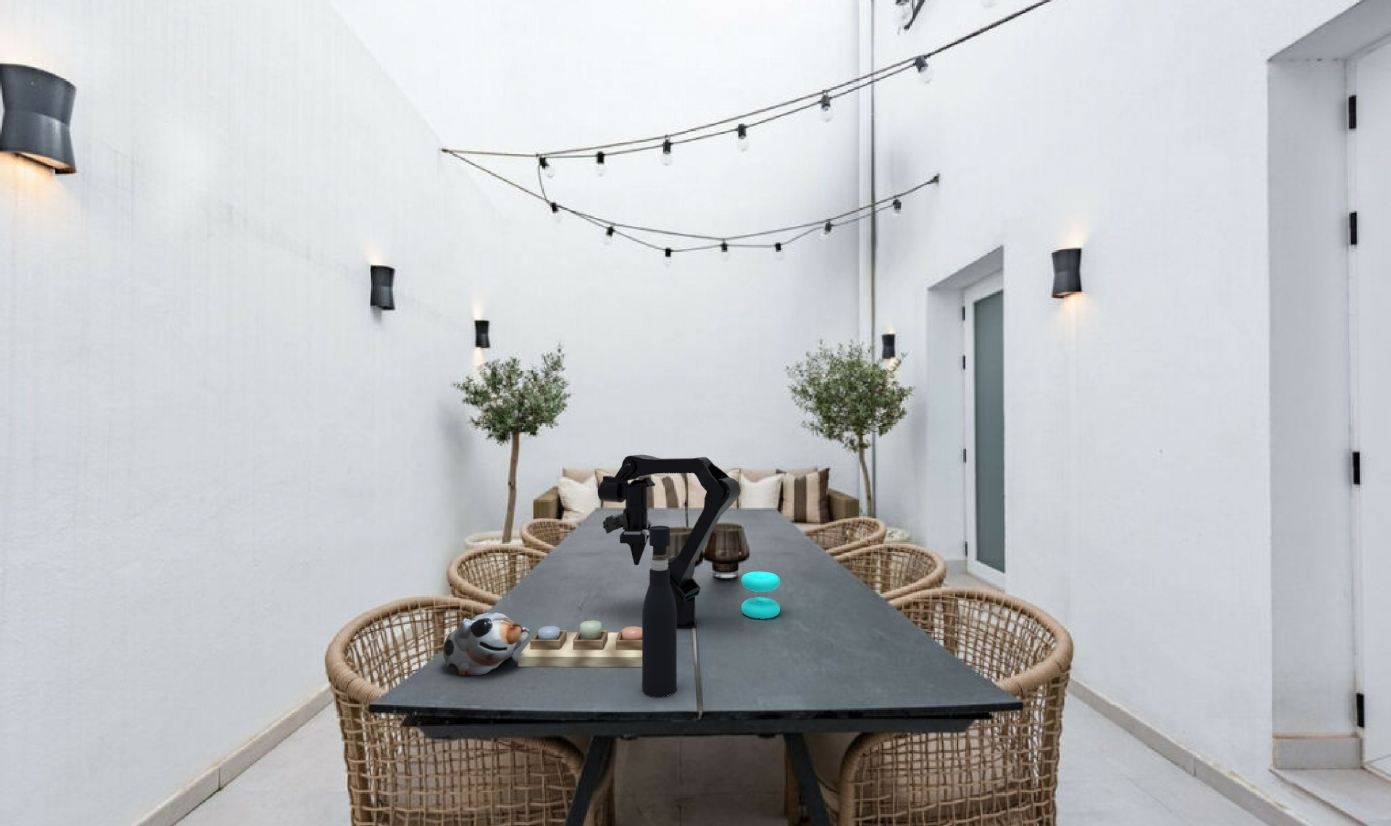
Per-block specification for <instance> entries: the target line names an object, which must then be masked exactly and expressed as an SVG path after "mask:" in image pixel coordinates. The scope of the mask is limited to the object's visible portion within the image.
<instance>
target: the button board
mask: <svg viewBox="0 0 1391 826" xmlns="http://www.w3.org/2000/svg"><path fill="white" fill-rule="evenodd" d="M622 630H623V629H621V630H620V631H618V632H608V631H609V630H605V629H603V630H602V629H601V636H600V637H599V638H596V639H583V638H581V637H580V629H579V630H578V631H575V632H571V631H570V632H568V630H567V629H565V630H564V629H560V637H559V639H558V640H538V630H537V631H536V632H535V633H534V635H532V637H531V639H530V641H529V642H528V643H527V645H526V646H525V647H523V649H522V651H521V652H520V653H519V655H518V656H517V667H539V668H540V667H541V668H542V667H545V668H546V667H548V668H549V667H553V668H555V667H558V668H560V667H561V668H562V667H563V668H565V667H566V668H567V667H568V668H569V667H571V668H572V667H573V668H576V667H577V668H579V667H580V668H582V667H583V668H584V667H585V668H642V640H622Z"/></svg>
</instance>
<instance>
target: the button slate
mask: <svg viewBox="0 0 1391 826" xmlns="http://www.w3.org/2000/svg"><path fill="white" fill-rule="evenodd" d="M560 630H561V629H560V627H559V626H556V625H545V626H543V627H540V628H539V629H538V630H537V631H538V640H558V639H559V637H560Z"/></svg>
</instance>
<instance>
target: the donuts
mask: <svg viewBox="0 0 1391 826" xmlns="http://www.w3.org/2000/svg"><path fill="white" fill-rule="evenodd" d="M740 582H741V584H742V586H743V587H744V588H745V589H747V590H749V591H752V592H756V593H766V592H767V593H768V592H772V591H774V590H776V589H778V588H779V586H780V584H781V579H780V577H779V575H777V574H775V573H774V572H773V573H772V572H768V571H750V572H746V573H745V574H743V576H742V577H741V581H740ZM740 608H741V612H742V613H743V614H744V615H745V616H747V617H748V618H752V619H758V618H760V619H761V620H764V619H765V620H766V618H767V619H772V618H775V617H776V616H778V615H779V614H780V612H781V606H780V604H779V603H778V602H777V600H775V599H773V598H769V597H764V596H755V597H749V598H747V599H746V600H744V601H743V602H742V604H741V607H740ZM760 619H759V620H760Z"/></svg>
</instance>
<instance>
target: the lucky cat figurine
mask: <svg viewBox="0 0 1391 826" xmlns="http://www.w3.org/2000/svg"><path fill="white" fill-rule="evenodd" d="M529 635H530V628H527V627H526V626H523V627H522V626H521V624H520V623H516V622H514V621H513V620H512V619H510V617H507V615H505V614H504V613H500V612H494V613H493V612H485V613H481V614H477V615H475V616H473V617H472V618H471V619H469V618H468V617H465V618H463V620H462V621H461V622H460V623H459V626H458V627H457V628H456V629H455V630H453V631H452V632H450V633H449V634H448V635H447V637H446V639H445V641H444V644H443V647H442V655H443V659H444V661H445V665H446V668H448V669H453V670H454V671H455V672H456V674H457V675H459V676H461V675H462V676H483V675H482V674H485V675H486V674H487V673H490V671H492V670H494V669H497V668H499V665H501V664H502V663H503V662H504V661H506V660H508V659H510V658H511V657H512V656H514V652H516V650H517V649H519V648H520V647H521V646H522V645H523V644H524V643H525V642H526V641H527V639H528V637H529Z"/></svg>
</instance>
